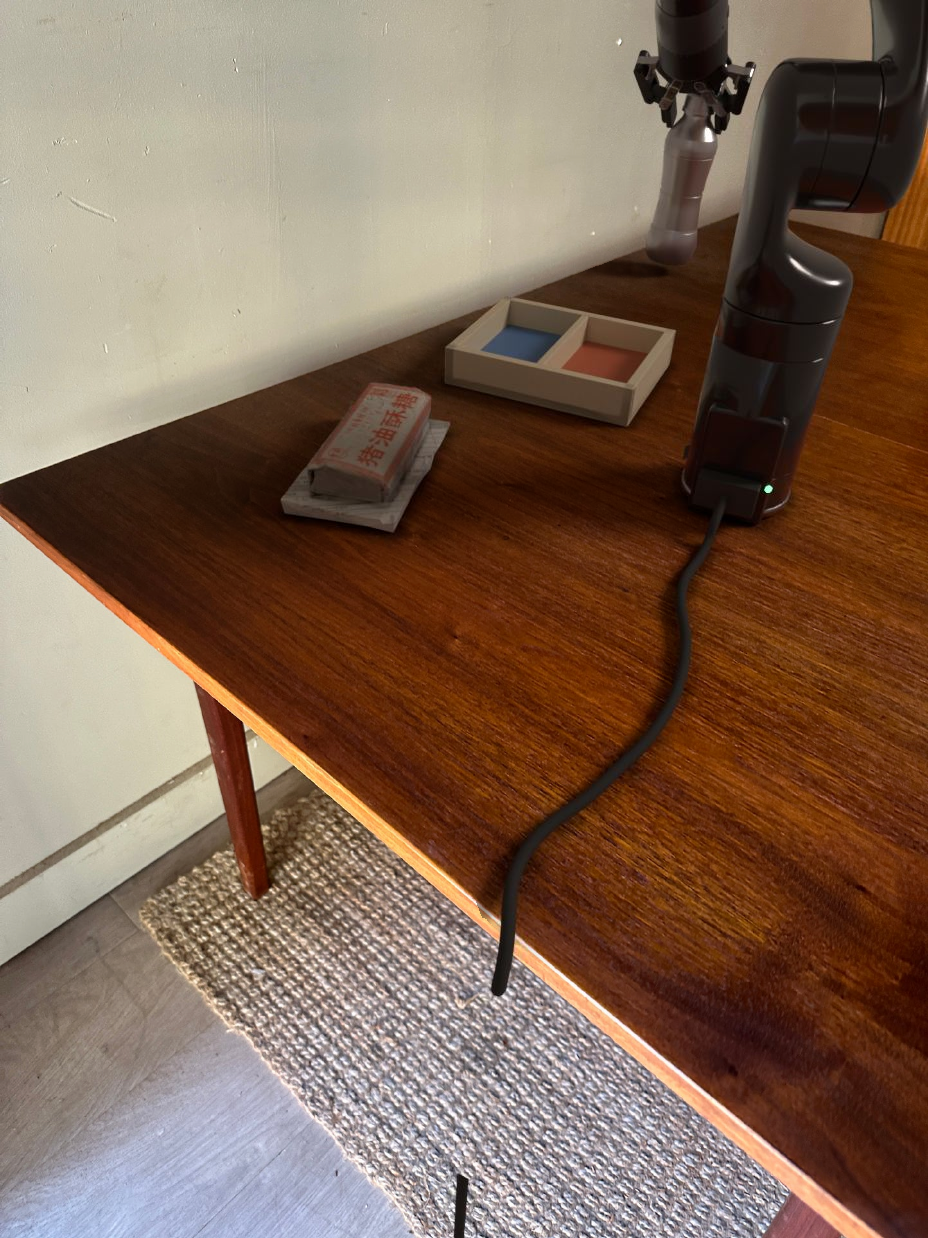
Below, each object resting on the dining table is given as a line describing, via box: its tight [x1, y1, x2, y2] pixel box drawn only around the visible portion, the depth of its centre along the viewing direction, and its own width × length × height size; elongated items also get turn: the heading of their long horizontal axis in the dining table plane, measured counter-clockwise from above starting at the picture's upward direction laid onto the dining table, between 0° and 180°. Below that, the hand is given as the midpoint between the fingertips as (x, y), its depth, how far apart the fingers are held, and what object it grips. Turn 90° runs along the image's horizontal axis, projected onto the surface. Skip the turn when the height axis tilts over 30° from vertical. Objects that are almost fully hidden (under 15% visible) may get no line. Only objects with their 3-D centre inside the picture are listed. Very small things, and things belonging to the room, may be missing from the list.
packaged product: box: [280, 382, 451, 533], centre depth 80 cm, size 18×5×10 cm
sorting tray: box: [444, 295, 677, 427], centre depth 97 cm, size 16×20×4 cm
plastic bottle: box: [645, 93, 719, 267], centre depth 116 cm, size 6×7×20 cm
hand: (696, 124), depth 113 cm, fingers closed on plastic bottle, 5 cm apart
